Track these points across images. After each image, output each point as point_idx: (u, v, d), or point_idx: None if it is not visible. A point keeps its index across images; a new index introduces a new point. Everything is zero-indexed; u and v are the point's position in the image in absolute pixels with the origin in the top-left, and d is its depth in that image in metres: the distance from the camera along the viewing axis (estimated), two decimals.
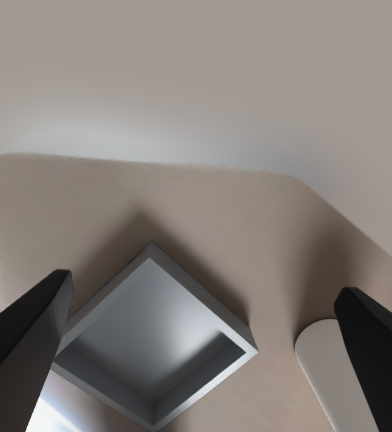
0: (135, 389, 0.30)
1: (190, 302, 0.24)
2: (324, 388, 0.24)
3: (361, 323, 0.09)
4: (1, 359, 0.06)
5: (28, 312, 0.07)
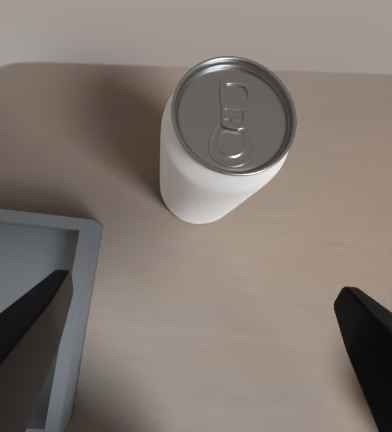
0: None
1: None
2: (164, 180, 0.18)
3: (361, 323, 0.09)
4: (1, 359, 0.06)
5: (28, 312, 0.07)
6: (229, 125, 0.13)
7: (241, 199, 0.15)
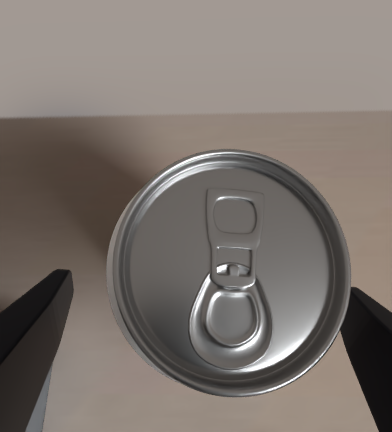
0: None
1: None
2: None
3: (361, 323, 0.09)
4: (1, 359, 0.06)
5: (28, 312, 0.07)
6: (228, 279, 0.07)
7: None
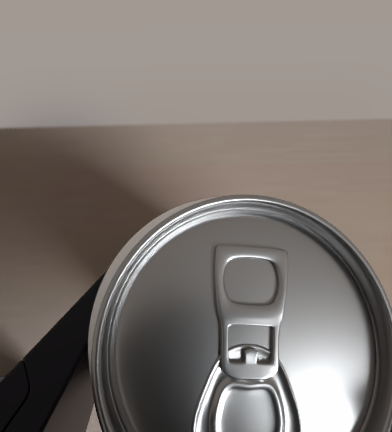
0: None
1: None
2: None
3: None
4: (77, 361, 0.06)
5: (90, 315, 0.07)
6: (243, 367, 0.05)
7: None
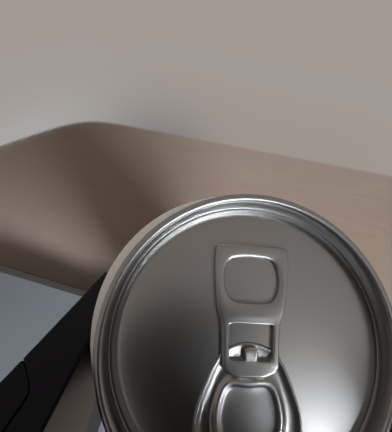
0: None
1: (14, 287, 0.17)
2: None
3: None
4: (77, 361, 0.06)
5: (90, 315, 0.07)
6: (243, 365, 0.05)
7: None
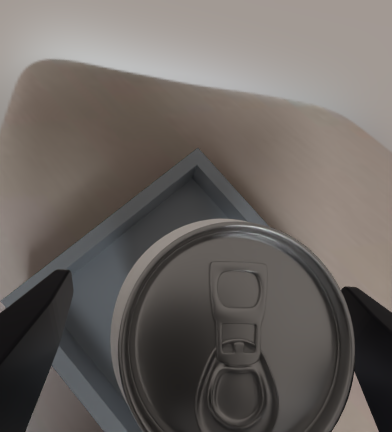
0: None
1: (248, 218, 0.17)
2: None
3: (361, 323, 0.09)
4: (1, 359, 0.06)
5: (28, 312, 0.07)
6: (233, 355, 0.07)
7: None
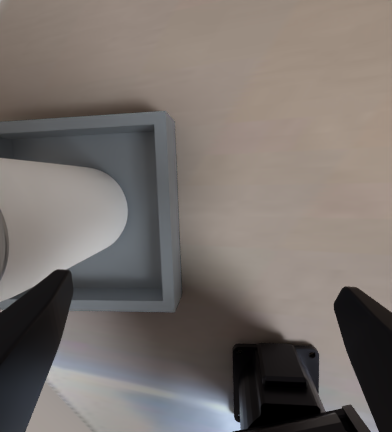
0: (135, 287, 0.23)
1: (46, 128, 0.20)
2: None
3: (361, 323, 0.09)
4: (1, 359, 0.06)
5: (28, 312, 0.07)
6: None
7: (67, 244, 0.14)
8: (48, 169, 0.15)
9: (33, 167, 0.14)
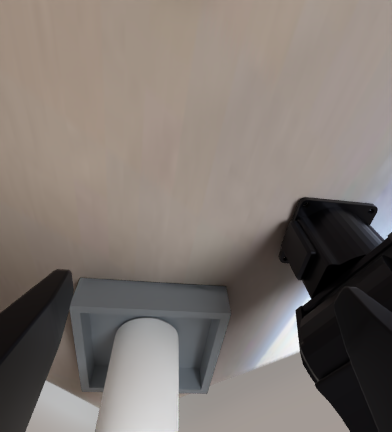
0: None
1: (84, 363, 0.28)
2: None
3: (361, 323, 0.09)
4: (1, 359, 0.06)
5: (28, 312, 0.07)
6: None
7: (151, 413, 0.21)
8: (104, 405, 0.22)
9: (101, 420, 0.22)
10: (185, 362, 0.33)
